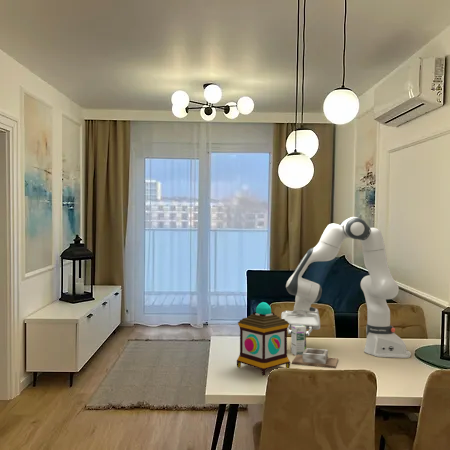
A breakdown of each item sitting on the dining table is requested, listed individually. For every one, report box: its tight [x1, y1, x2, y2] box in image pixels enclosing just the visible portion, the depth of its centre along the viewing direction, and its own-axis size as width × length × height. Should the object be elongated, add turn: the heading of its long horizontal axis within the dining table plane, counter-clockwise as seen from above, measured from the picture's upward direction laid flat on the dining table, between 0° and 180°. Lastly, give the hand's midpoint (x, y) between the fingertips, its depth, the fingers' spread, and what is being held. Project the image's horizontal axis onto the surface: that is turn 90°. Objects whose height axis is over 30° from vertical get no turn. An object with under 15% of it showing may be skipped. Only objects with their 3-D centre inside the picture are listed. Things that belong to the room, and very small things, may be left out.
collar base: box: [291, 347, 339, 369], centre depth 227 cm, size 20×13×5 cm, turn 71°
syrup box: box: [290, 325, 307, 357], centre depth 241 cm, size 6×6×14 cm
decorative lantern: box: [236, 301, 291, 377], centre depth 217 cm, size 20×20×30 cm
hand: (298, 334), depth 241 cm, fingers closed on syrup box, 8 cm apart
